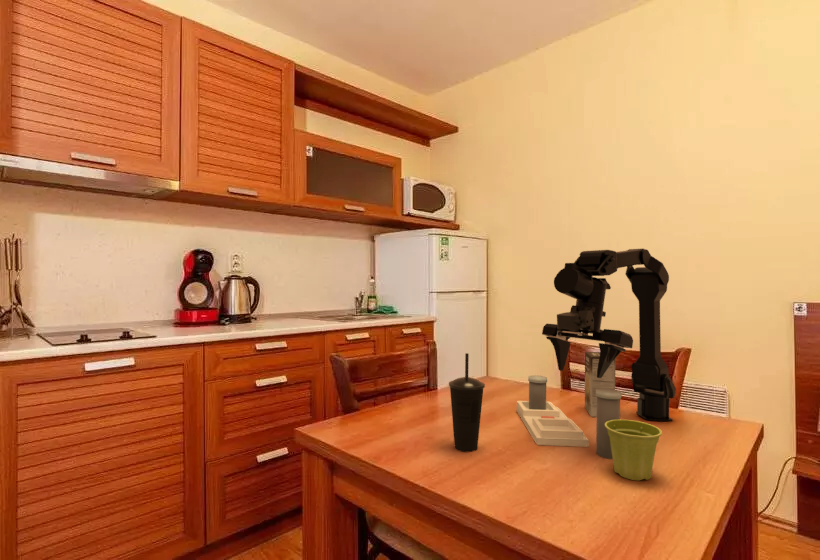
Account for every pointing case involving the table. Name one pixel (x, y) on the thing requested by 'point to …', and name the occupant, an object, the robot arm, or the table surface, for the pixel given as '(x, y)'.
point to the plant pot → (633, 447)
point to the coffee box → (596, 380)
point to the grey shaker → (606, 419)
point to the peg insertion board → (548, 418)
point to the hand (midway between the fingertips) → (579, 374)
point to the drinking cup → (466, 410)
